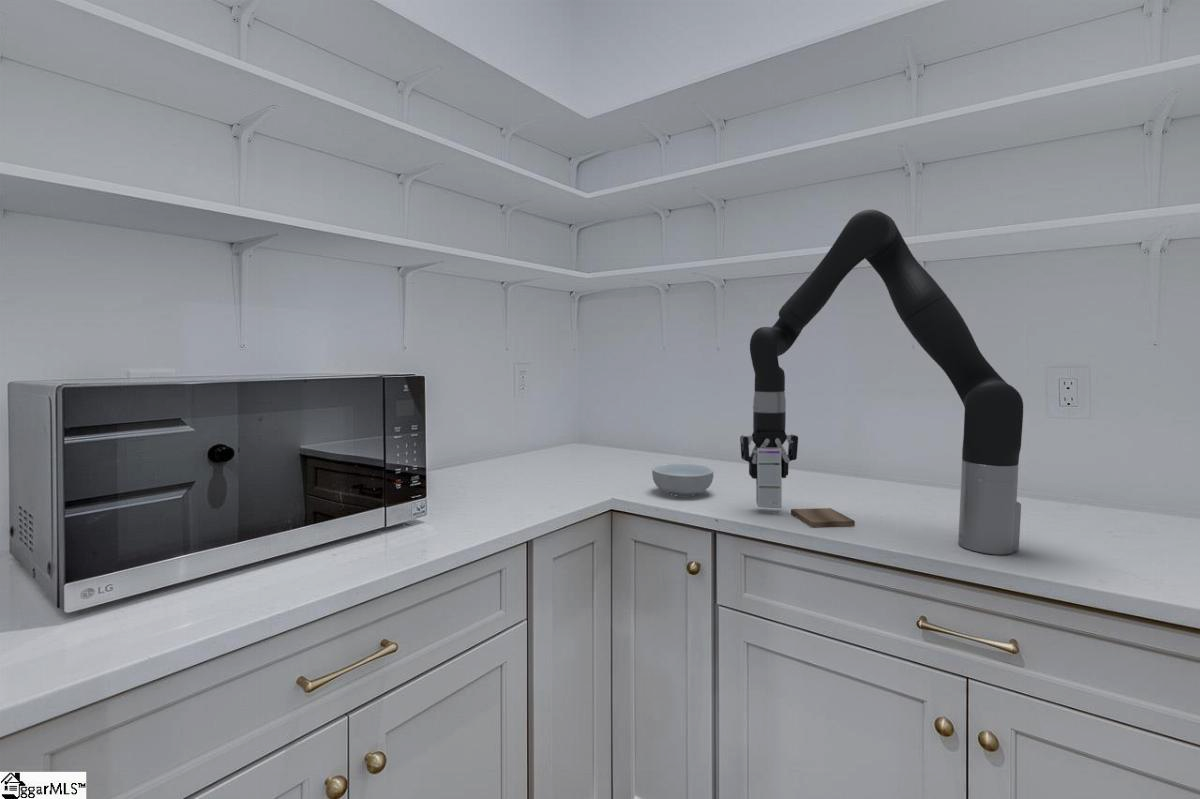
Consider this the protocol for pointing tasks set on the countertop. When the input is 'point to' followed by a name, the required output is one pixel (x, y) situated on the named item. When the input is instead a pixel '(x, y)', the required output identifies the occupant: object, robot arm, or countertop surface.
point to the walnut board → (822, 517)
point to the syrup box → (769, 477)
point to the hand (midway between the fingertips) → (768, 477)
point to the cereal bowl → (682, 478)
